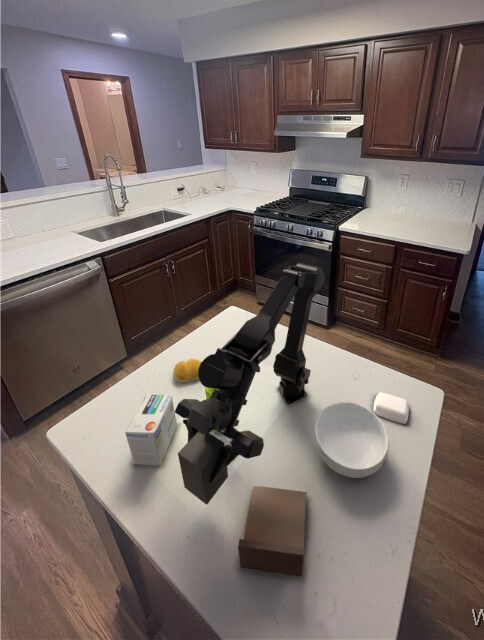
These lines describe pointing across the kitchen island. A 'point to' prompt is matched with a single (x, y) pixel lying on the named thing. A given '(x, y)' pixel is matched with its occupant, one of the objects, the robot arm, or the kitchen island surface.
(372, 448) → the cereal bowl
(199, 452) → the dark grey upright block
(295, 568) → the brown shallow tray
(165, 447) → the light bulb box
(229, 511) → the kitchen island surface
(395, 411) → the soap
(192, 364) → the bread roll
